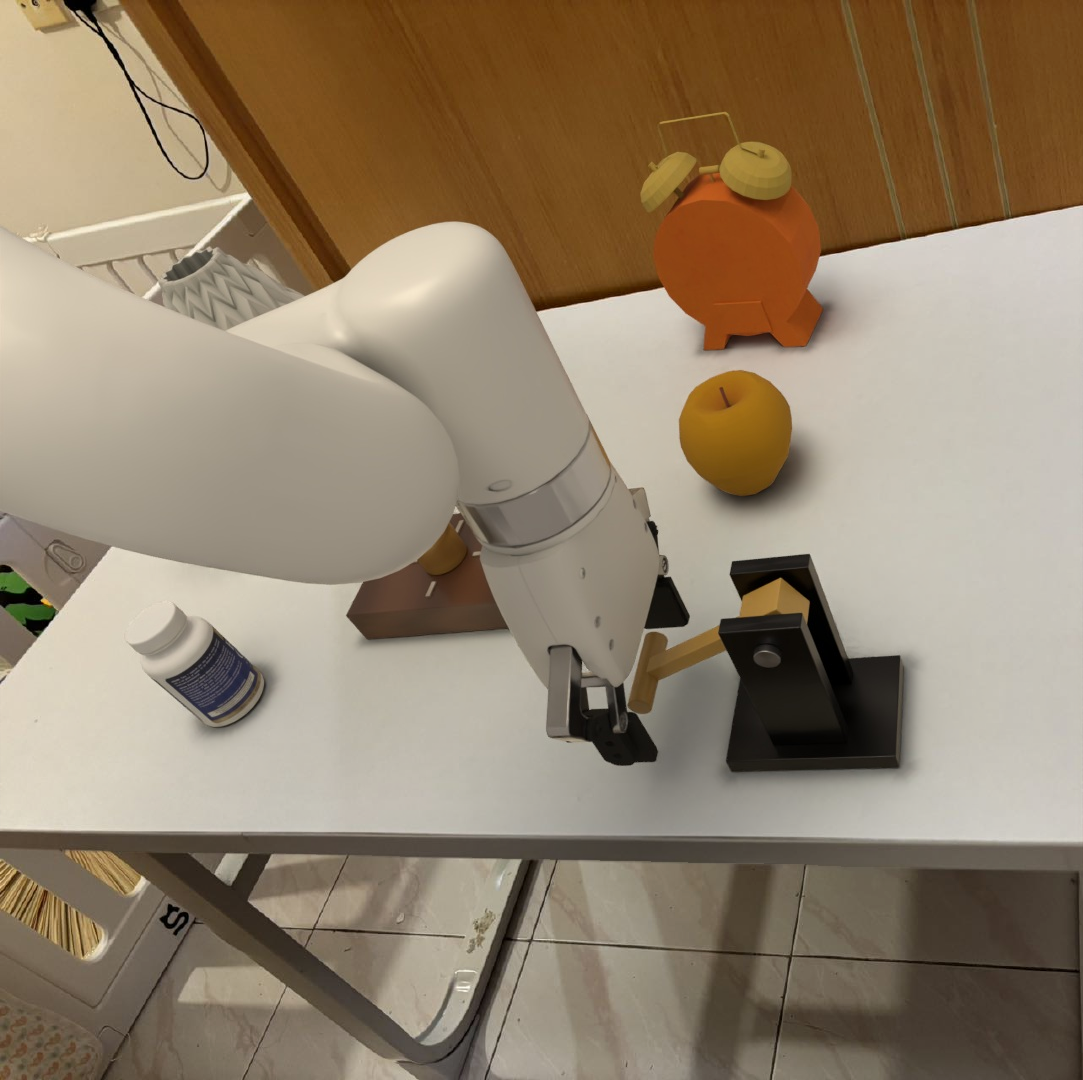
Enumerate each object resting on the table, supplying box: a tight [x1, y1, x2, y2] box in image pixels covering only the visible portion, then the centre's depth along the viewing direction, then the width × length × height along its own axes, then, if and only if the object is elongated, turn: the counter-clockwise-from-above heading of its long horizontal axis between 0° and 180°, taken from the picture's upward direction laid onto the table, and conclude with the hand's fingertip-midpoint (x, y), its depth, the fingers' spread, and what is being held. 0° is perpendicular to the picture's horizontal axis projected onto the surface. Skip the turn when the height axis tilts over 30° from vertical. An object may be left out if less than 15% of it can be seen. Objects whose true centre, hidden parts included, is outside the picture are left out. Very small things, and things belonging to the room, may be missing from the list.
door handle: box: [626, 578, 810, 715], centre depth 57 cm, size 12×5×2 cm, turn 81°
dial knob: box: [417, 522, 467, 575], centre depth 76 cm, size 4×4×5 cm
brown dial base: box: [345, 512, 509, 640], centre depth 79 cm, size 14×10×3 cm
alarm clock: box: [639, 111, 824, 351], centre depth 85 cm, size 13×6×20 cm, turn 69°
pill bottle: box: [124, 600, 265, 728], centre depth 75 cm, size 5×5×10 cm
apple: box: [678, 369, 793, 497], centre depth 75 cm, size 8×8×9 cm
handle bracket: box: [718, 553, 905, 773], centre depth 57 cm, size 10×7×12 cm
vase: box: [157, 246, 305, 331], centre depth 101 cm, size 16×16×18 cm
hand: (651, 687), depth 60 cm, fingers open, 9 cm apart
